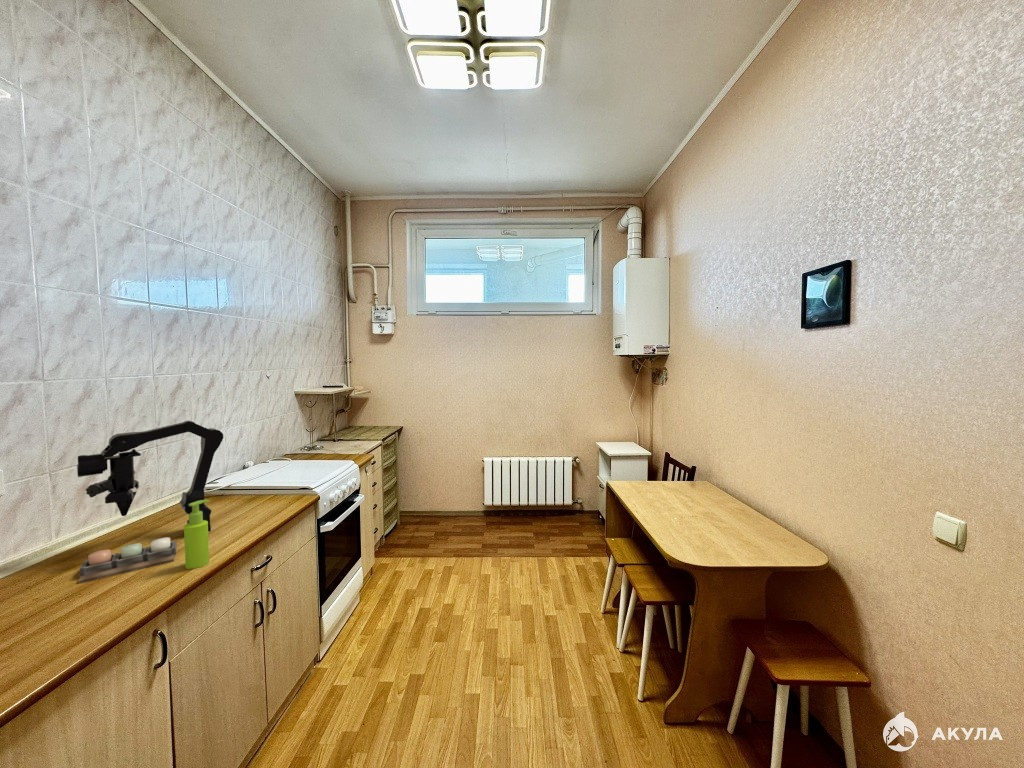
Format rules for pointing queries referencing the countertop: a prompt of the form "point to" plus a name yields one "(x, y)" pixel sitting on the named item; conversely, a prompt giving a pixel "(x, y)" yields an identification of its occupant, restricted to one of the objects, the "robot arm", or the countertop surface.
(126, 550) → the pale green rounded block
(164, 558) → the soap tray
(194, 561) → the soap dispenser
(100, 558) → the pink rounded block
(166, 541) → the white rounded block
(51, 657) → the countertop surface
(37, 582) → the countertop surface
